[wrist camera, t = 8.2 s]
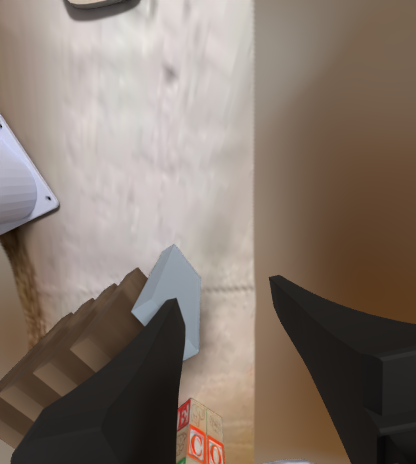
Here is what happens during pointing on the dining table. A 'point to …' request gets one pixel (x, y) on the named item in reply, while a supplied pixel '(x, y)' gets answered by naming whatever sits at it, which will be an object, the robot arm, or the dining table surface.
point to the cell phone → (92, 3)
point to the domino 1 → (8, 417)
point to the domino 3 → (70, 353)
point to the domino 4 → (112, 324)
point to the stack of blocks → (199, 435)
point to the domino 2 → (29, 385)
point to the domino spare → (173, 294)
